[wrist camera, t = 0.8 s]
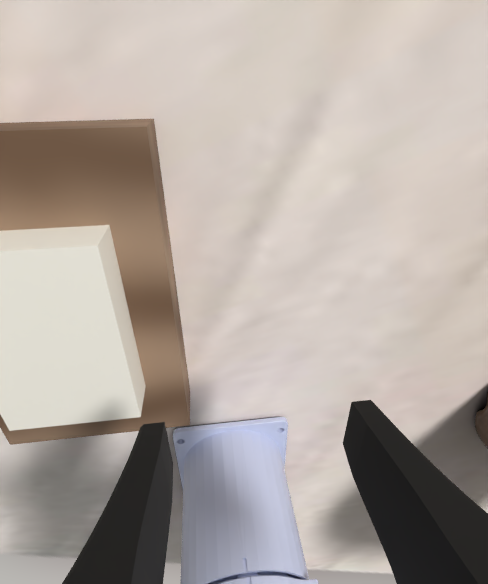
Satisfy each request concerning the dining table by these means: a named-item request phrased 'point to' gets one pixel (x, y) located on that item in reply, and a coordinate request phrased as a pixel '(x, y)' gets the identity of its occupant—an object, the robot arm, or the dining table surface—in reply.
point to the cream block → (65, 330)
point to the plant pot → (482, 424)
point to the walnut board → (125, 233)
